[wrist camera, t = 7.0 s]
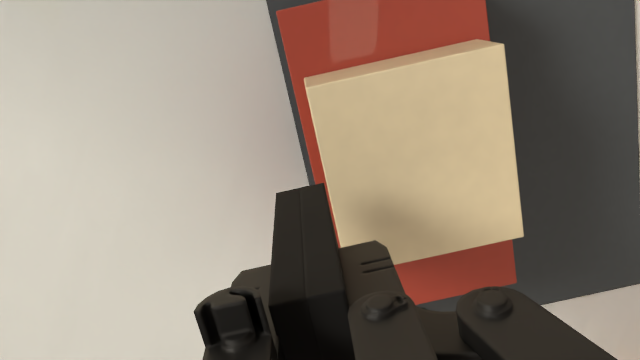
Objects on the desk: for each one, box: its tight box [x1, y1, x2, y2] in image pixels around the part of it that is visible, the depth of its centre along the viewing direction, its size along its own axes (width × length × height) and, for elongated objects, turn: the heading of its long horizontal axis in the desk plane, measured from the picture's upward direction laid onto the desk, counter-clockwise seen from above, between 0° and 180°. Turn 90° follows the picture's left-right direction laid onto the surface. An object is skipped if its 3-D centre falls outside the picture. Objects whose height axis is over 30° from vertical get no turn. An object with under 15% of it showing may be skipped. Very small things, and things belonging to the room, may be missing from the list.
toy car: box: [276, 0, 524, 305], centre depth 22 cm, size 13×7×8 cm
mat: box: [266, 0, 640, 312], centre depth 26 cm, size 20×16×1 cm
